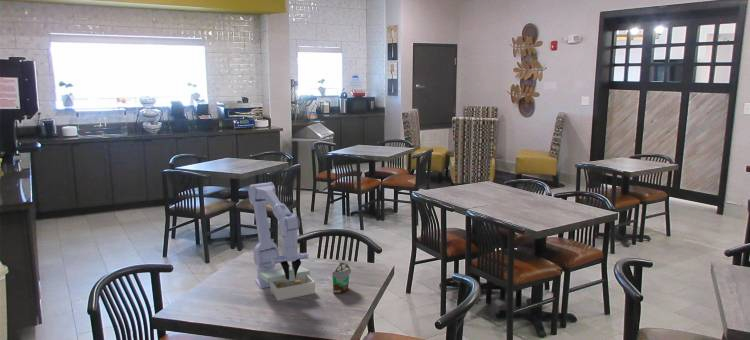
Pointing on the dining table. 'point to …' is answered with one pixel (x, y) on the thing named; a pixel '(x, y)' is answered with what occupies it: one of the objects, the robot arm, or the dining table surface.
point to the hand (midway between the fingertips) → (290, 278)
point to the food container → (341, 278)
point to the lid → (283, 274)
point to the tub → (292, 288)
